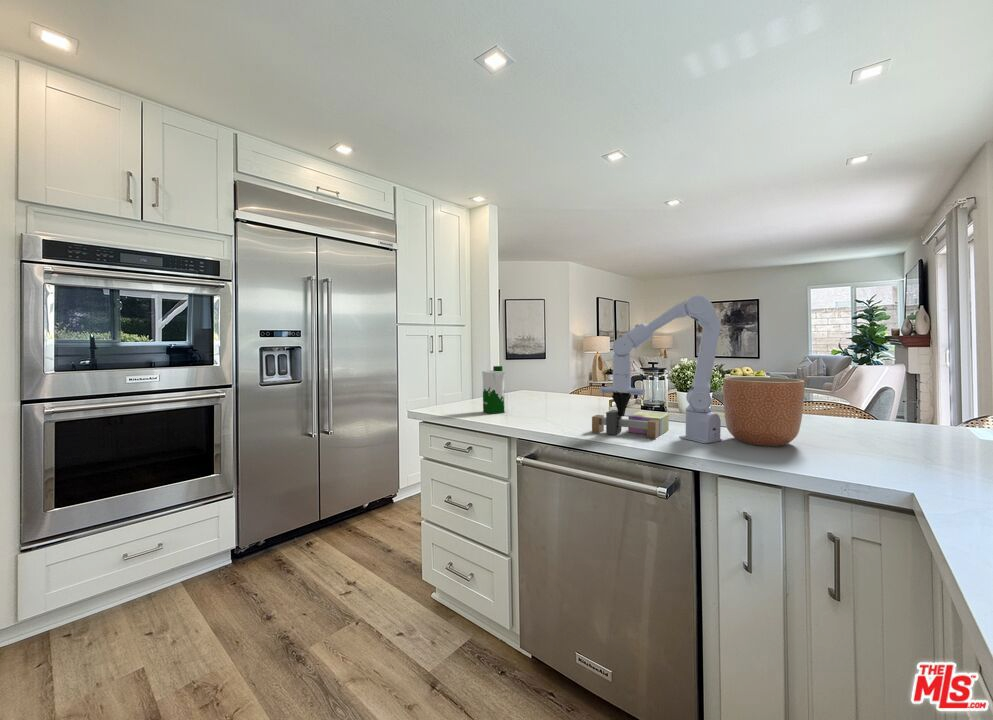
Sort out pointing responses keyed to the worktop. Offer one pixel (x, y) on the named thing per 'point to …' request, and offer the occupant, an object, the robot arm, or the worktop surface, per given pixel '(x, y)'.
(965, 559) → the worktop surface
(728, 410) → the planter
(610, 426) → the collar
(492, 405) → the milk carton
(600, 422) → the pipe rig
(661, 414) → the box
